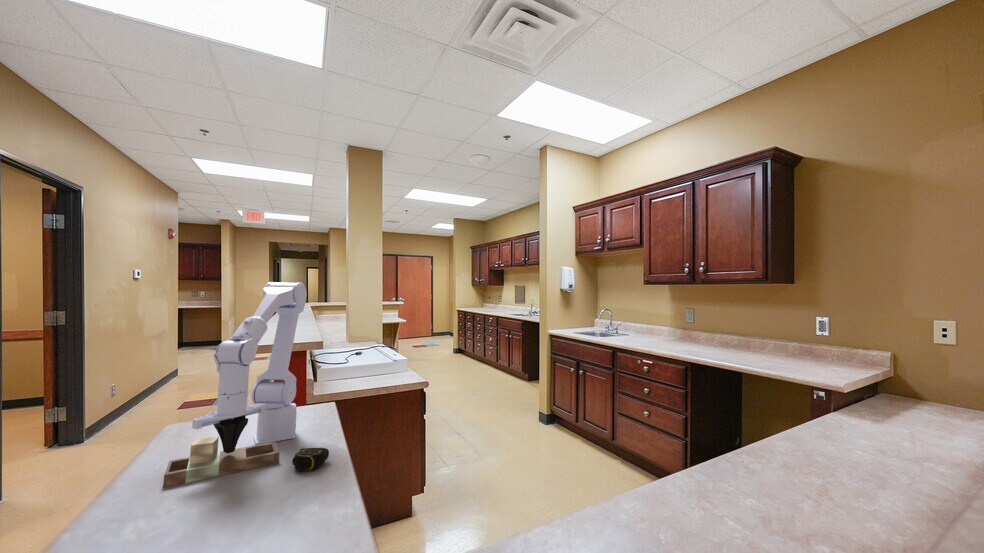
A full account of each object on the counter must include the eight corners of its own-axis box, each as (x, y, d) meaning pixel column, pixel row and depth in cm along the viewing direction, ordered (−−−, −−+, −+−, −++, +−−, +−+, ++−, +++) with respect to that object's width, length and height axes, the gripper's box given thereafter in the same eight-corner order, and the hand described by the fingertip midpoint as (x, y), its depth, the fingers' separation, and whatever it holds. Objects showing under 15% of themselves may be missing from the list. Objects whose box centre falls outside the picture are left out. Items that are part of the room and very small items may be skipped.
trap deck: (275, 451, 92) (275, 441, 92) (278, 463, 86) (279, 452, 86) (168, 472, 80) (169, 460, 80) (163, 487, 74) (164, 475, 74)
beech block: (217, 454, 84) (218, 436, 85) (211, 461, 81) (213, 442, 81) (196, 456, 83) (197, 438, 83) (189, 464, 79) (190, 445, 79)
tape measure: (329, 461, 88) (330, 445, 88) (318, 474, 81) (319, 457, 81) (300, 461, 87) (301, 445, 88) (286, 474, 81) (288, 457, 81)
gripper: (255, 383, 93) (251, 438, 92) (187, 396, 80) (182, 459, 79) (271, 387, 90) (268, 443, 89) (203, 400, 77) (198, 466, 76)
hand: (228, 451), depth 84 cm, fingers closed
